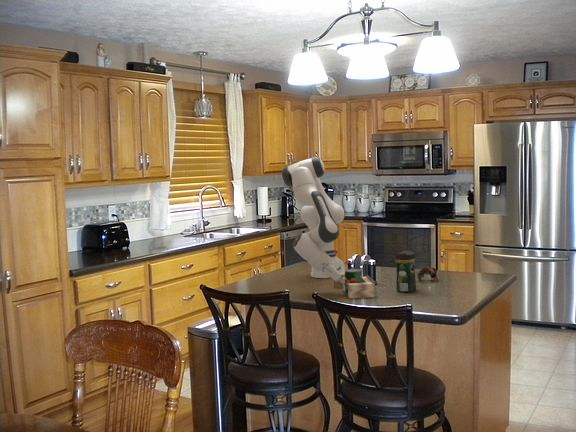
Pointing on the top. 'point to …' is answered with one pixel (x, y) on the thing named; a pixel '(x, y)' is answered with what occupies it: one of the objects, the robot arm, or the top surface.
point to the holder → (361, 288)
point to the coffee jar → (405, 271)
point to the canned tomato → (352, 277)
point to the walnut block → (338, 284)
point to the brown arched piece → (428, 273)
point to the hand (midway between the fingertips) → (343, 282)
